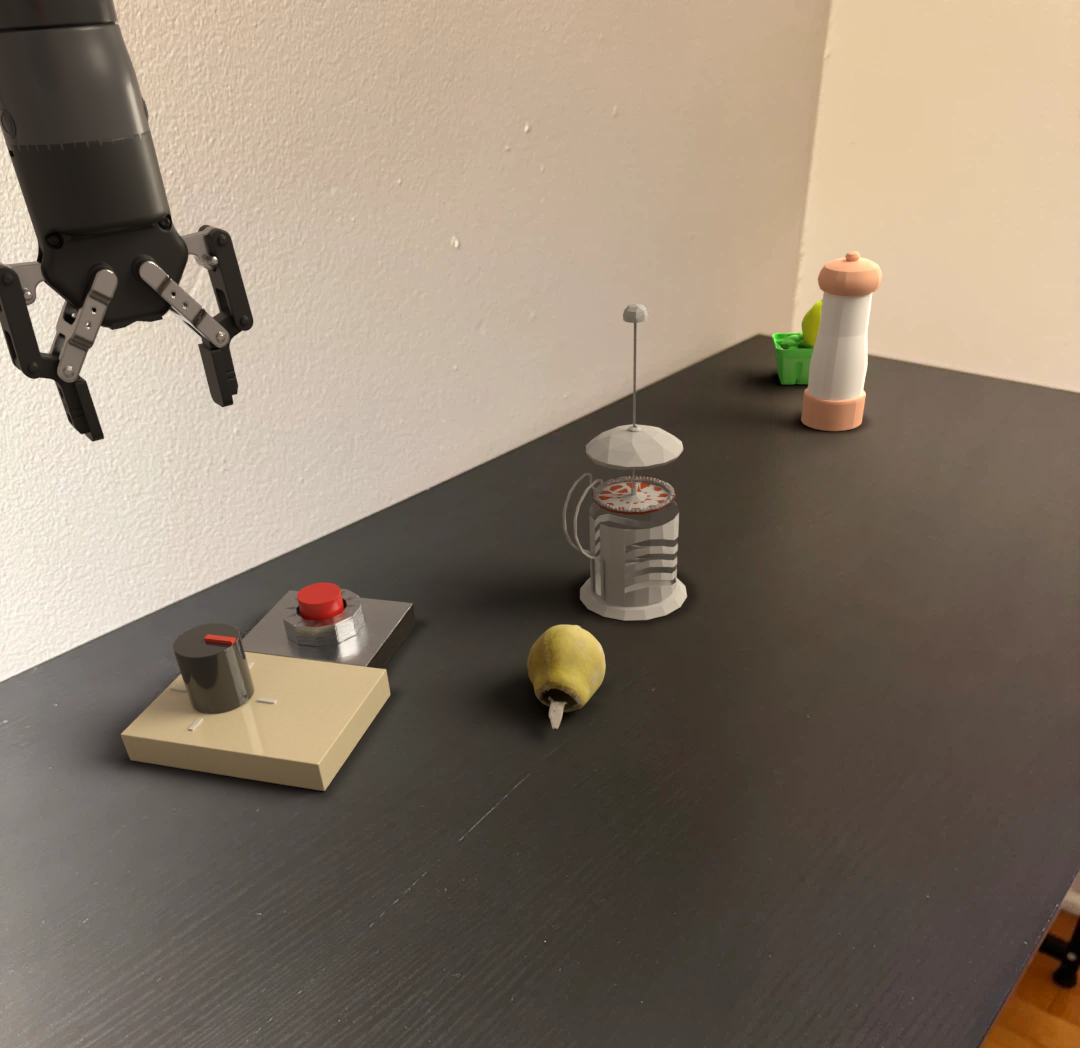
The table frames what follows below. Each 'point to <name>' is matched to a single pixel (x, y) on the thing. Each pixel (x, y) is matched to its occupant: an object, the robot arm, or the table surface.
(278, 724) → the panel
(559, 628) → the fruit
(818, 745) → the table surface
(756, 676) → the table surface
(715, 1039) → the table surface
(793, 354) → the fruit basket
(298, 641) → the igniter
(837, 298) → the salt shaker
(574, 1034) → the table surface
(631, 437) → the french press
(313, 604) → the button
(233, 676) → the knob
